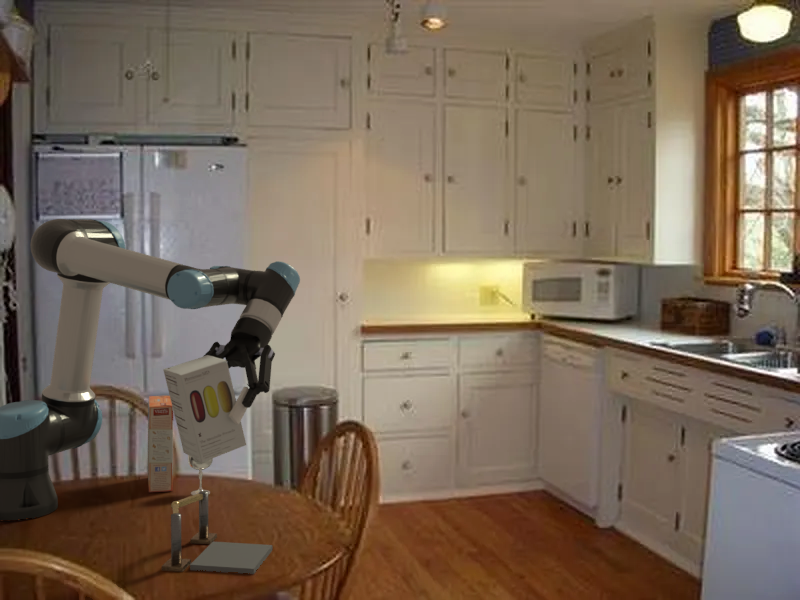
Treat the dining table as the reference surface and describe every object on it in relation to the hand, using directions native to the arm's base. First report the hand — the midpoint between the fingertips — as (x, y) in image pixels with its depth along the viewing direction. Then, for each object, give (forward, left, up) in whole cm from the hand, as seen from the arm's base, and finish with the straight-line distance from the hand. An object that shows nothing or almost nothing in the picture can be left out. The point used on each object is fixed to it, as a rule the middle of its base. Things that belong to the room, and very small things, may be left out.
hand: (206, 417), depth 158 cm
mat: (+5, +1, -27) cm, 28 cm away
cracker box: (-28, +45, -27) cm, 60 cm away
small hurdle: (-4, +3, -27) cm, 28 cm away
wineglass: (-16, +40, -27) cm, 51 cm away
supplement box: (+1, +1, -6) cm, 7 cm away
